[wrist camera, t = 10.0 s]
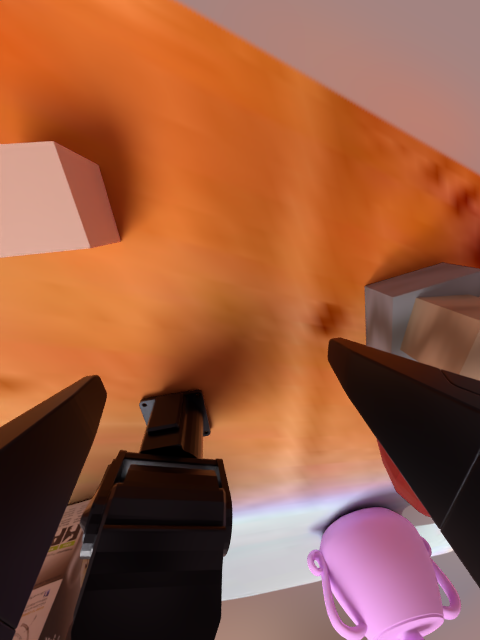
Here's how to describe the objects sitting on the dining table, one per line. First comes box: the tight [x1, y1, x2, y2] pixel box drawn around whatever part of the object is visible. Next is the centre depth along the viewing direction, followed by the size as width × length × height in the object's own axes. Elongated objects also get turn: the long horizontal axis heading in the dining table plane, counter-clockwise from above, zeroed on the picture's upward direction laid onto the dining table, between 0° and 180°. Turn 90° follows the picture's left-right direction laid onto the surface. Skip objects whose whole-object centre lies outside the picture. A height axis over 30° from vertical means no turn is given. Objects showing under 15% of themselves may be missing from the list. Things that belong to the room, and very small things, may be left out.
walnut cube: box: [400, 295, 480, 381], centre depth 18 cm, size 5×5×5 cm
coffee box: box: [13, 499, 91, 640], centre depth 23 cm, size 9×6×16 cm
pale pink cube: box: [0, 141, 121, 258], centre depth 14 cm, size 5×5×5 cm
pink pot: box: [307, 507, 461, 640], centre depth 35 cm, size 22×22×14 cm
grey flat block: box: [365, 263, 480, 362], centre depth 22 cm, size 8×8×4 cm
